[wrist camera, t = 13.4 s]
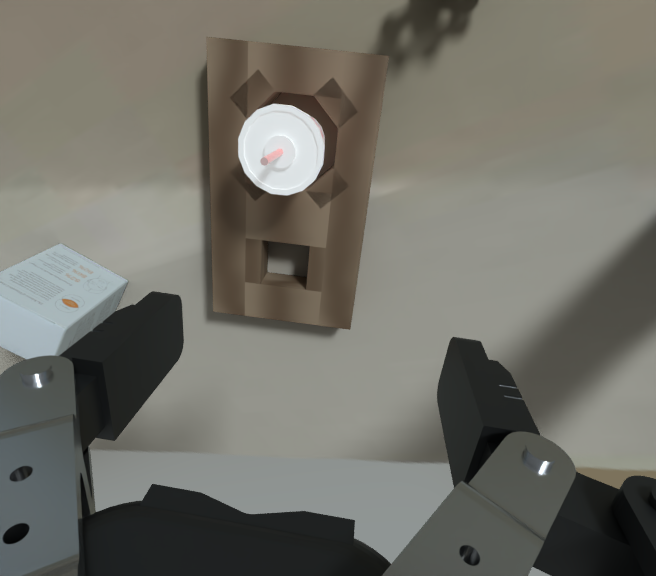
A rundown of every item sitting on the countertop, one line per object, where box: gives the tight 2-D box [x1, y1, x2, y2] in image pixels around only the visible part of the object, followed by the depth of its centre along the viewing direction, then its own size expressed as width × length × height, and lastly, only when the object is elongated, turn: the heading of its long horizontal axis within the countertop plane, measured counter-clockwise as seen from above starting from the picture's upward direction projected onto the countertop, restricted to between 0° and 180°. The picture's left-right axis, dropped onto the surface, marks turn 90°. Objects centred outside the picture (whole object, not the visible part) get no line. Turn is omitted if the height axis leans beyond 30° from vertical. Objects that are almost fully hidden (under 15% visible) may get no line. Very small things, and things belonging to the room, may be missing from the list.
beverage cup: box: [238, 104, 325, 195], centre depth 30 cm, size 6×6×14 cm
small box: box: [0, 244, 128, 359], centre depth 40 cm, size 8×6×10 cm
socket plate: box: [206, 37, 389, 330], centre depth 37 cm, size 14×24×3 cm, turn 174°
